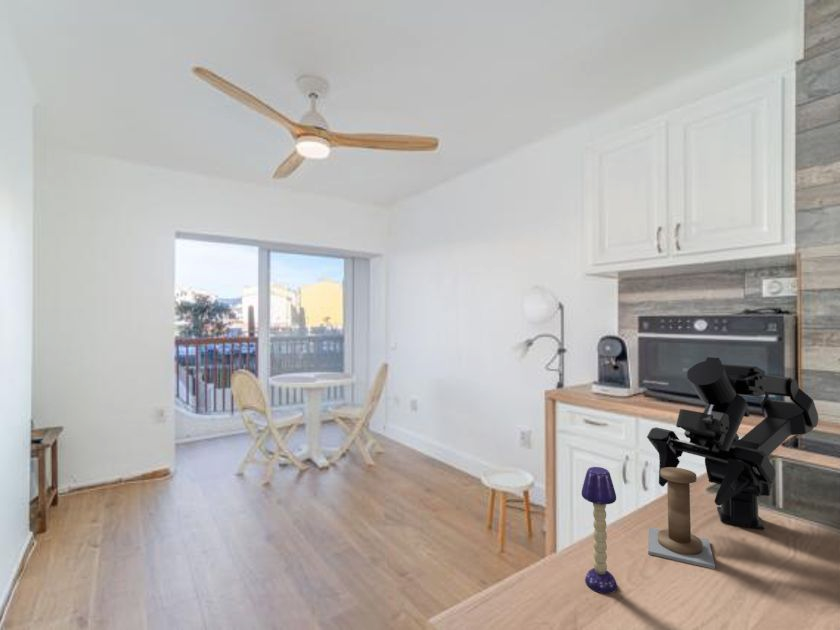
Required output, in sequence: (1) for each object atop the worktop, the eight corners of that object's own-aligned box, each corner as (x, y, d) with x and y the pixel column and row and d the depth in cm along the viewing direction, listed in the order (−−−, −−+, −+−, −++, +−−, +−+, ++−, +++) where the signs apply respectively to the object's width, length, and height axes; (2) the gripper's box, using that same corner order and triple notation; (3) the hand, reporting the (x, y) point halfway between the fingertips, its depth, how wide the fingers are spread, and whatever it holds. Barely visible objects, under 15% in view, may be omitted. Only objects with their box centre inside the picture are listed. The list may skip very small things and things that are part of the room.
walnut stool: (669, 531, 76) (667, 463, 77) (709, 546, 71) (707, 473, 71) (650, 542, 73) (648, 471, 73) (691, 559, 68) (689, 482, 68)
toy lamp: (621, 597, 59) (619, 476, 59) (585, 593, 60) (584, 474, 60) (613, 577, 64) (611, 464, 64) (580, 573, 65) (578, 462, 65)
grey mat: (649, 530, 78) (649, 527, 78) (708, 542, 74) (708, 539, 74) (648, 554, 70) (648, 550, 70) (714, 569, 66) (714, 565, 66)
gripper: (651, 385, 84) (616, 451, 79) (765, 401, 68) (730, 485, 62) (676, 420, 88) (643, 485, 82) (789, 443, 72) (758, 526, 66)
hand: (687, 494), depth 73 cm, fingers open, 9 cm apart
